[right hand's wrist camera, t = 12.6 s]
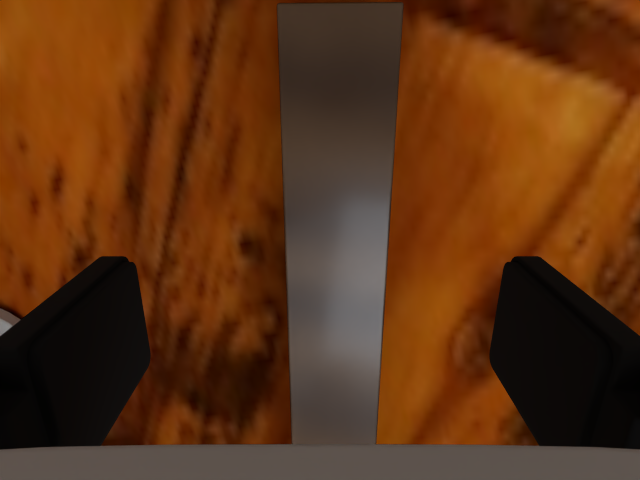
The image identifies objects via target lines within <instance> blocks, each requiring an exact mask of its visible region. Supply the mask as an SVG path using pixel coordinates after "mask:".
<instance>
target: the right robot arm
mask: <svg viewBox="0 0 640 480" xmlns="http://www.w3.org/2000/svg"><path fill="white" fill-rule="evenodd" d="M149 363H150V347H149V341H148V335H147V329H146V323H145V317H144V311H143V305H142V299H141V293H140V286H139V280H138V274H137V269H136V265H135V264H134V263H133V262H129V261H128V259H127V258H126V257H123V256H102V257H100V258H98V259H97V260H96V261H94V262H93V263H92V264H91V265H89V266H88V267H87V268H86V269H84V270H83V271H82V272H80V273H79V274H78V275H77V276H75V277H74V278H73V279H72V280H70V281H69V282H68V283H67V284H65V285H64V286H63V287H62V288H60V289H59V290H58V291H56V292H55V293H54V294H53V295H51V296H50V297H49V298H48V299H46V300H45V301H44V302H43V303H41V304H40V305H39V306H38V307H36V308H35V309H34V310H32V311H31V312H30V313H29V314H27V315H26V316H25V317H24V318H22V319H19V318H17V317H16V316H14V315H13V314H11V313H9V312H7V311H5V310H3V309H0V480H640V336H639V335H638V334H637V333H635V332H634V331H633V330H632V329H630V328H629V327H628V326H626V325H625V324H624V323H623V322H621V321H620V320H619V319H618V318H616V317H615V316H614V315H613V314H611V313H610V312H609V311H608V310H606V309H605V308H604V307H602V306H601V305H600V304H599V303H597V302H596V301H595V300H594V299H592V298H591V297H590V296H589V295H587V294H586V293H585V292H584V291H582V290H581V289H580V288H578V287H577V286H576V285H575V284H573V283H572V282H571V281H570V280H568V279H567V278H566V277H565V276H563V275H562V274H561V273H560V272H558V271H557V270H556V269H554V268H553V267H552V266H551V265H549V264H548V263H547V262H546V261H544V260H543V259H542V258H540V257H538V256H517V257H514V258H513V259H512V260H511V262H507V263H506V264H505V265H504V269H503V274H502V280H501V286H500V293H499V299H498V305H497V311H496V317H495V323H494V329H493V335H492V341H491V347H490V363H491V366H492V368H493V370H494V371H495V373H496V375H497V376H498V378H499V380H500V381H501V383H502V385H503V386H504V388H505V390H506V391H507V393H508V395H509V396H510V398H511V400H512V401H513V403H514V405H515V406H516V408H517V409H518V411H519V413H520V414H521V416H522V418H523V419H524V421H525V423H526V424H527V426H528V428H529V429H530V431H531V433H532V434H533V436H534V438H535V439H536V441H537V443H538V444H539V446H510V445H399V444H241V445H130V446H101V444H102V443H103V441H104V439H105V438H106V436H107V434H108V433H109V431H110V429H111V428H112V426H113V424H114V423H115V421H116V419H117V418H118V416H119V414H120V413H121V411H122V409H123V408H124V406H125V405H126V403H127V401H128V400H129V398H130V396H131V395H132V393H133V391H134V390H135V388H136V386H137V385H138V383H139V381H140V380H141V378H142V376H143V375H144V373H145V371H146V370H147V368H148V366H149Z"/></svg>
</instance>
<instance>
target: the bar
mask: <svg viewBox="0 0 640 480" xmlns="http://www.w3.org/2000/svg"><path fill="white" fill-rule="evenodd" d="M402 20H403V3H402V2H364V3H278V4H277V22H278V52H279V81H280V111H281V140H282V170H283V199H284V228H285V258H286V287H287V317H288V346H289V375H290V405H291V434H292V444H376V437H377V421H378V405H379V389H380V373H381V357H382V341H383V325H384V309H385V293H386V277H387V261H388V245H389V228H390V212H391V196H392V180H393V164H394V148H395V132H396V116H397V100H398V84H399V68H400V52H401V36H402Z"/></svg>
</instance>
